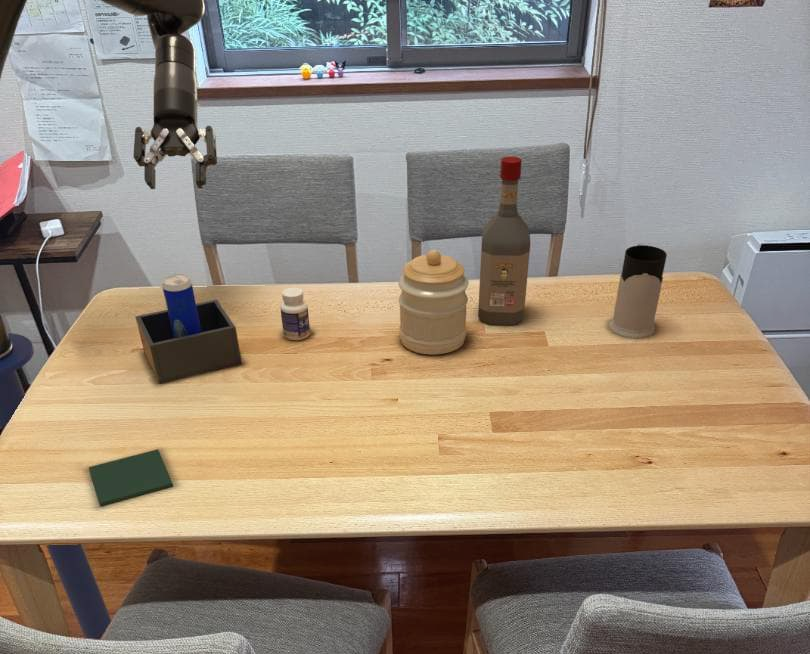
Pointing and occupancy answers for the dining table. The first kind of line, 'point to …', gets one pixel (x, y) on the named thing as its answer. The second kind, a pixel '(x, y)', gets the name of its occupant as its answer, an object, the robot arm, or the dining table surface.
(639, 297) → the glass holder
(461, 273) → the jar
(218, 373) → the dining table surface
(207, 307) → the dark grey open box
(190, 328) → the beverage can
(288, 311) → the pill bottle
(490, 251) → the liquor
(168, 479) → the mat
